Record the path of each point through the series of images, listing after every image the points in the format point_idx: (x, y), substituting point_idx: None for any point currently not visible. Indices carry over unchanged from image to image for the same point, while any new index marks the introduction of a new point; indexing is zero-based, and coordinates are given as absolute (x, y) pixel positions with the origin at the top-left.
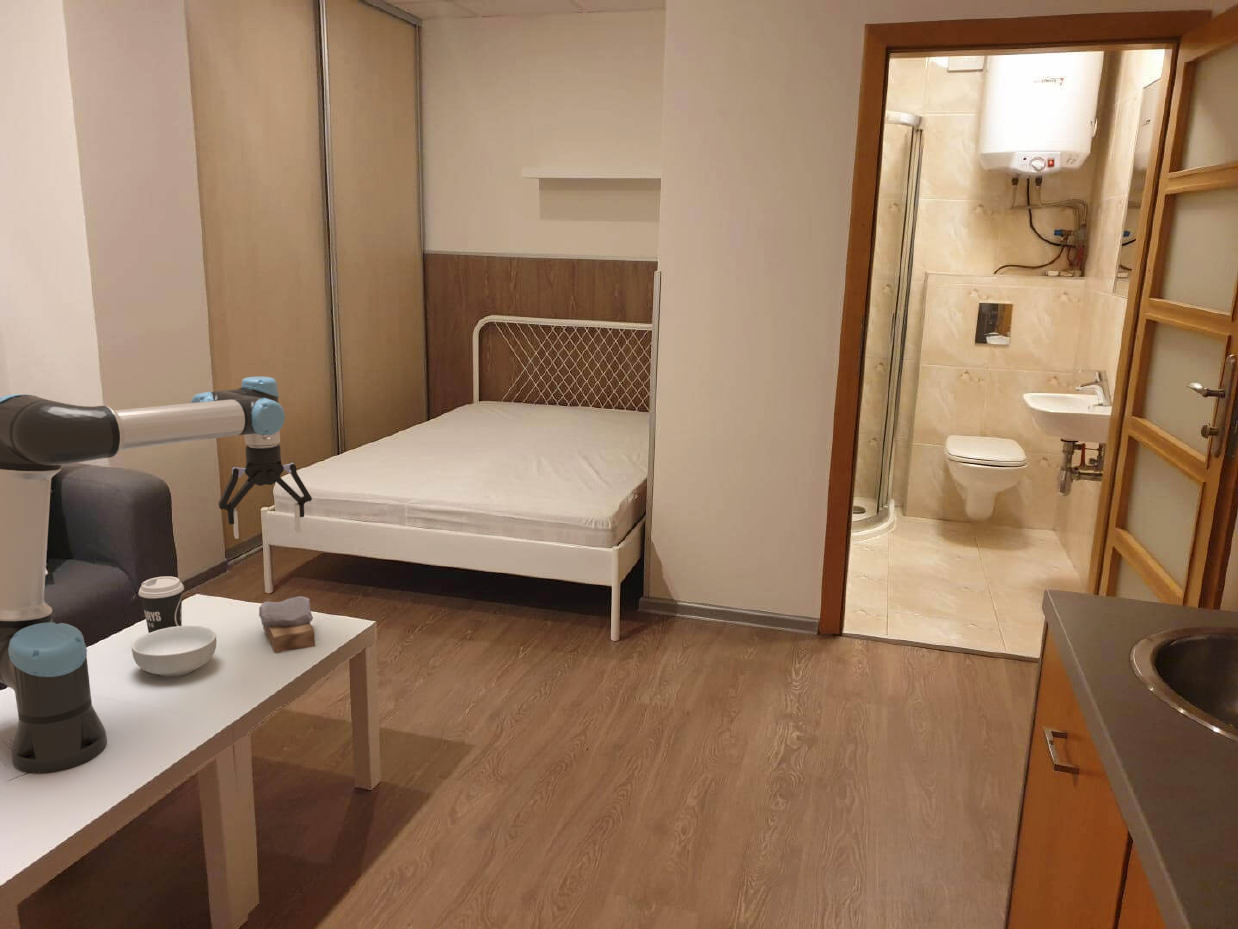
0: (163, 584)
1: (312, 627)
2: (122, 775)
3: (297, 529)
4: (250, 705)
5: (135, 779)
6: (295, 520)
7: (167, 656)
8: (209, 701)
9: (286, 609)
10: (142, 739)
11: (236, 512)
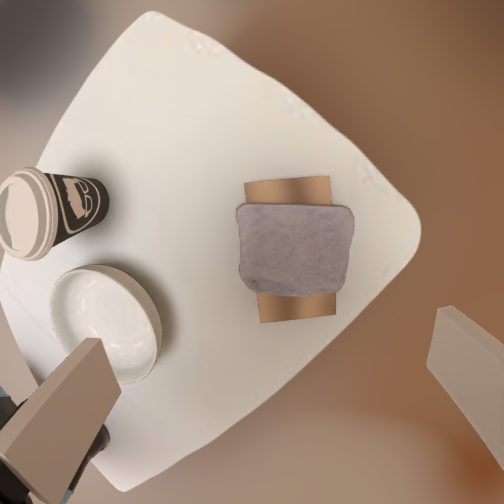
0: (19, 227)
1: (335, 302)
2: (137, 465)
3: (435, 373)
4: (223, 429)
5: (148, 471)
6: (466, 365)
7: None
8: (177, 408)
9: (296, 267)
10: (133, 437)
11: (55, 500)
